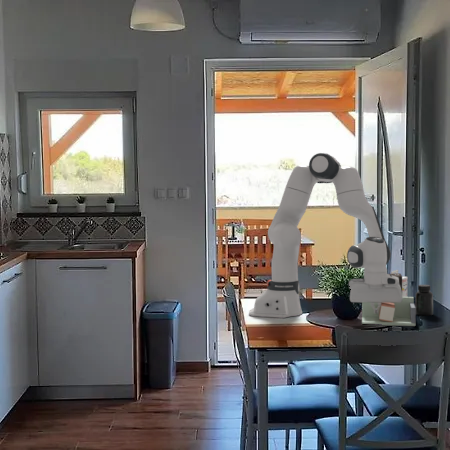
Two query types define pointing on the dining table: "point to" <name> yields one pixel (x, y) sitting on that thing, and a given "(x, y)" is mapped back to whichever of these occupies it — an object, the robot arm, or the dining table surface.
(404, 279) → the ink cartridge box
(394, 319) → the pale green storage bin
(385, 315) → the beige box
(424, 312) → the supplement bottle
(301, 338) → the dining table surface
